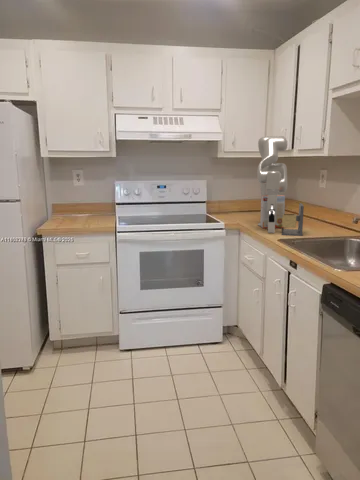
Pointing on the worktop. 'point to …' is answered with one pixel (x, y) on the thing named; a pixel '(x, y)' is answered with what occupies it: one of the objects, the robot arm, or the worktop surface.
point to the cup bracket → (293, 222)
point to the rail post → (271, 225)
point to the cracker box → (278, 213)
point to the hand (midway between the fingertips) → (271, 221)
